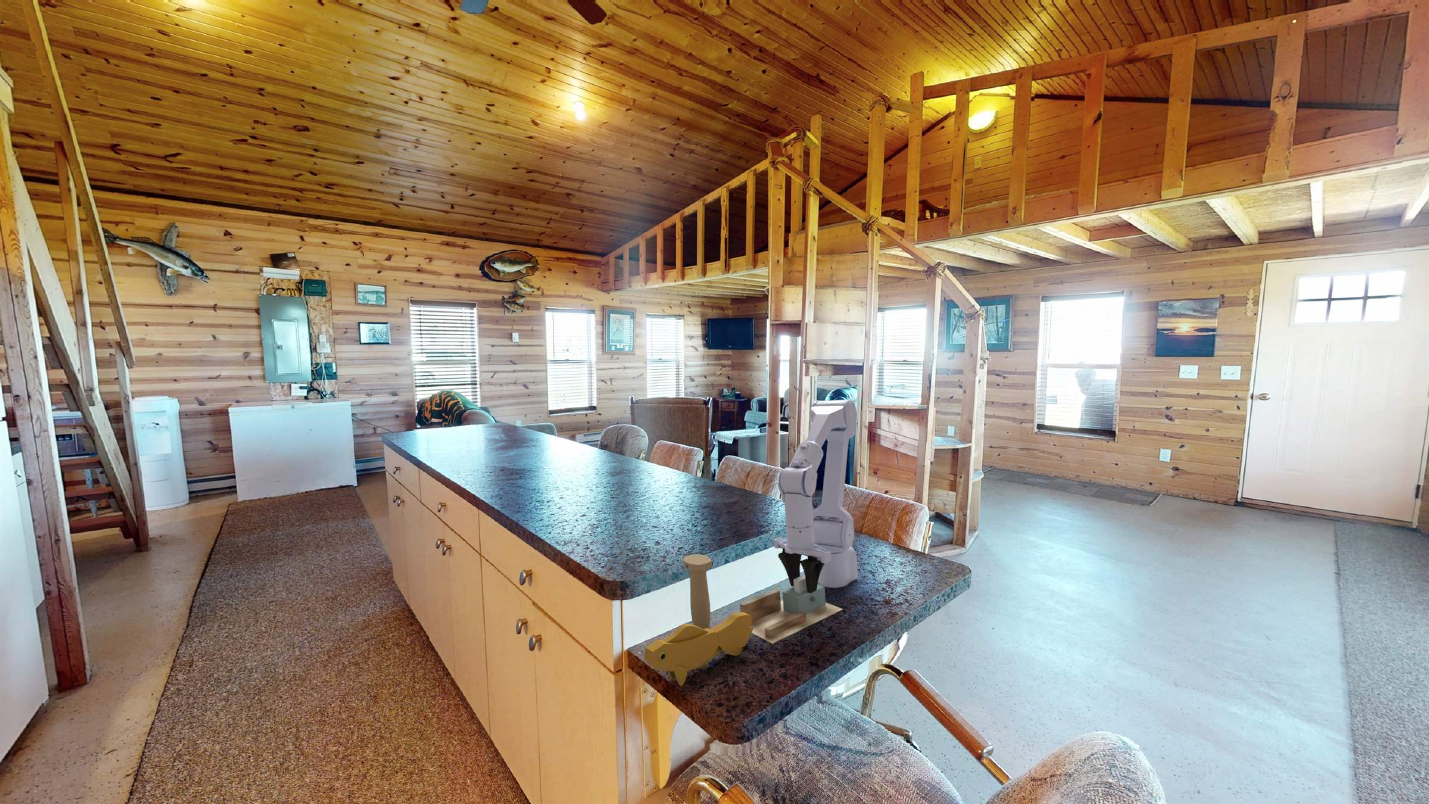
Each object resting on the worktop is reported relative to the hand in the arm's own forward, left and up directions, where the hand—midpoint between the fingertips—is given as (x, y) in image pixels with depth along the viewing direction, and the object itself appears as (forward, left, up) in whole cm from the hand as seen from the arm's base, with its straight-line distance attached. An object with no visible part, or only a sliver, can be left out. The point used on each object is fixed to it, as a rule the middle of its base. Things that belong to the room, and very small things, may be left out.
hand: (803, 588), depth 109 cm
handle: (+21, -8, -5) cm, 23 cm away
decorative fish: (+28, +2, -6) cm, 29 cm away
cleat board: (+5, 0, -5) cm, 7 cm away
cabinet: (0, 0, -4) cm, 4 cm away
